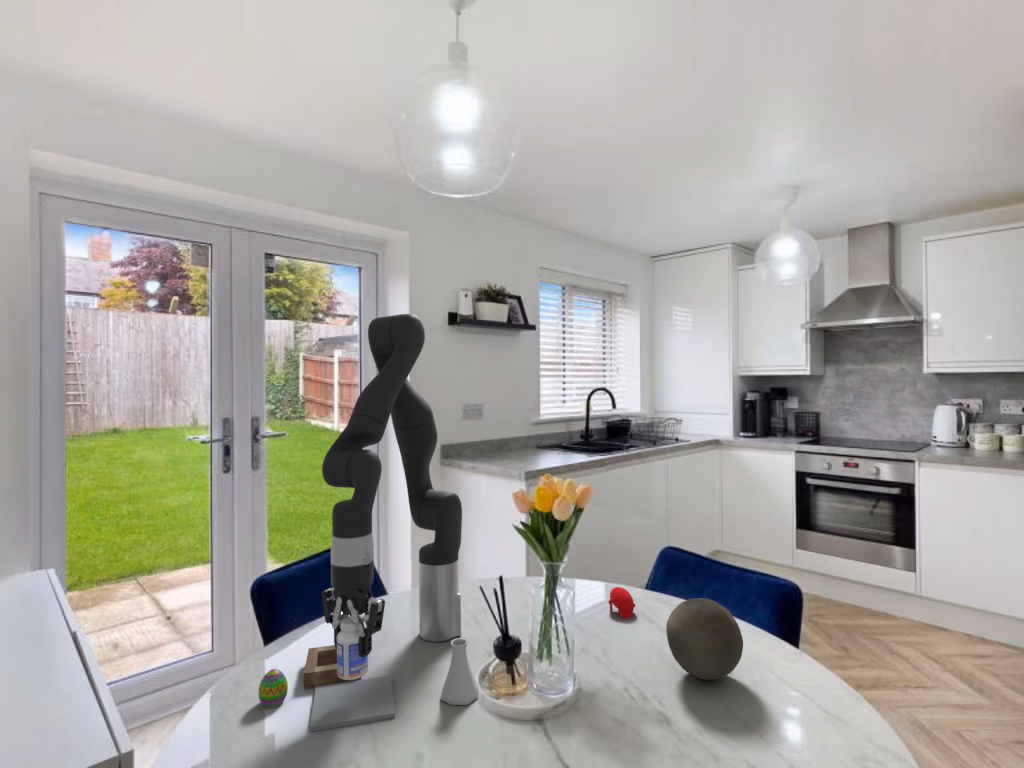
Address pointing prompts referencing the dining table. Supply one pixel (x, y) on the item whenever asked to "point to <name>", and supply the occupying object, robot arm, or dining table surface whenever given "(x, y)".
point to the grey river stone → (704, 638)
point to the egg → (273, 688)
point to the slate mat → (352, 703)
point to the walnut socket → (322, 667)
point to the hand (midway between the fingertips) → (352, 651)
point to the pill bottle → (350, 652)
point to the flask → (459, 677)
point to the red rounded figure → (622, 602)
